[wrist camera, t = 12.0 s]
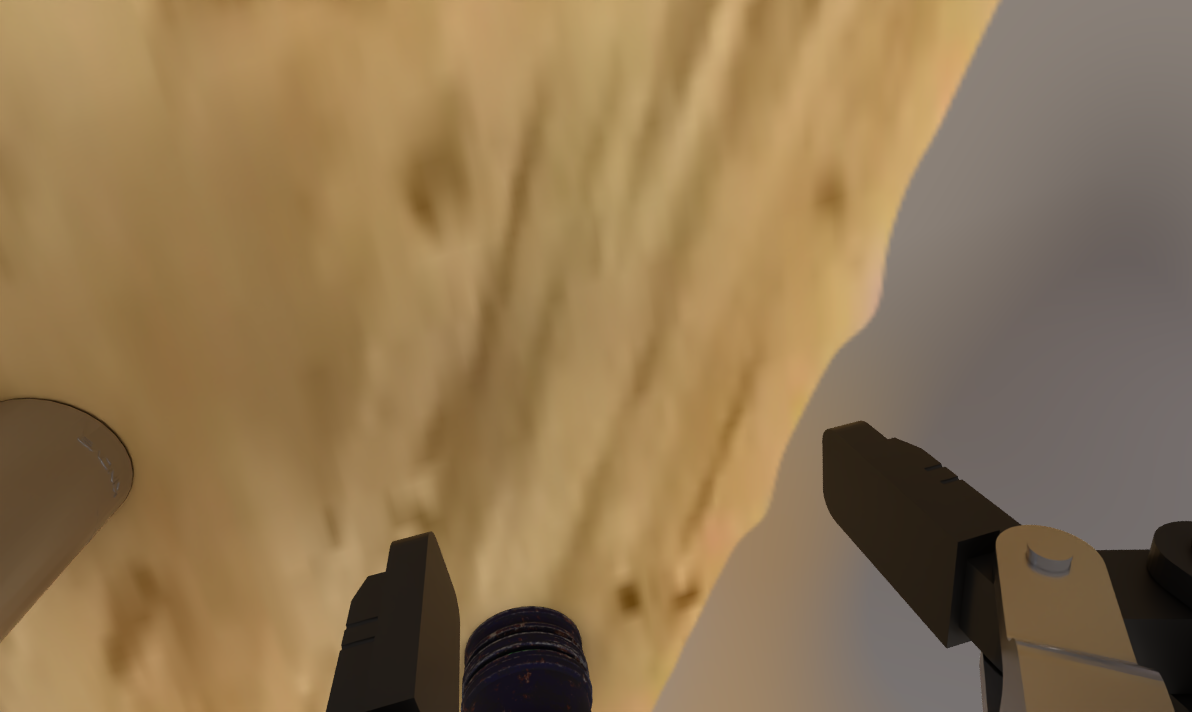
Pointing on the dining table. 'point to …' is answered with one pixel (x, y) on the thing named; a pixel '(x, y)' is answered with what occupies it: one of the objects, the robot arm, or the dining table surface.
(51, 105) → the dining table surface
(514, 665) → the storage jar
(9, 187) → the dining table surface
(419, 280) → the dining table surface
